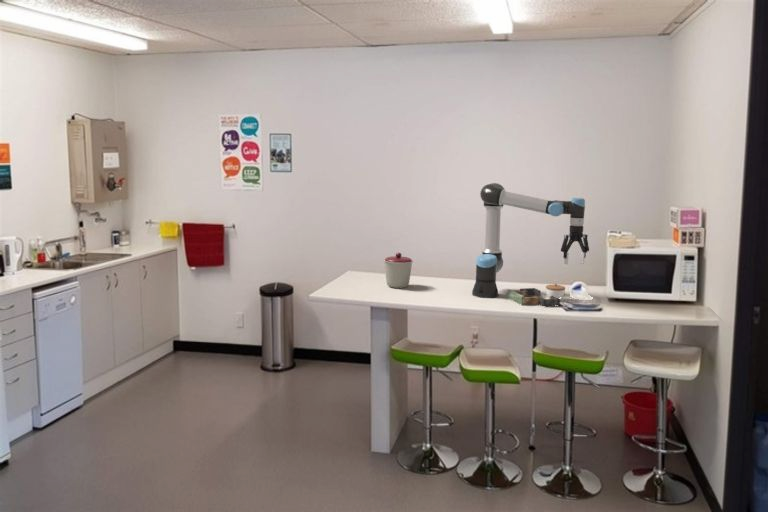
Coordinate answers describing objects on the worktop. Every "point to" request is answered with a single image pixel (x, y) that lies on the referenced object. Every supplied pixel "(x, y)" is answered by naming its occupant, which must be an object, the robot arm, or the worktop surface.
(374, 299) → the worktop surface
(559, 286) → the lidded jar
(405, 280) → the canister
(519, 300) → the trap box
